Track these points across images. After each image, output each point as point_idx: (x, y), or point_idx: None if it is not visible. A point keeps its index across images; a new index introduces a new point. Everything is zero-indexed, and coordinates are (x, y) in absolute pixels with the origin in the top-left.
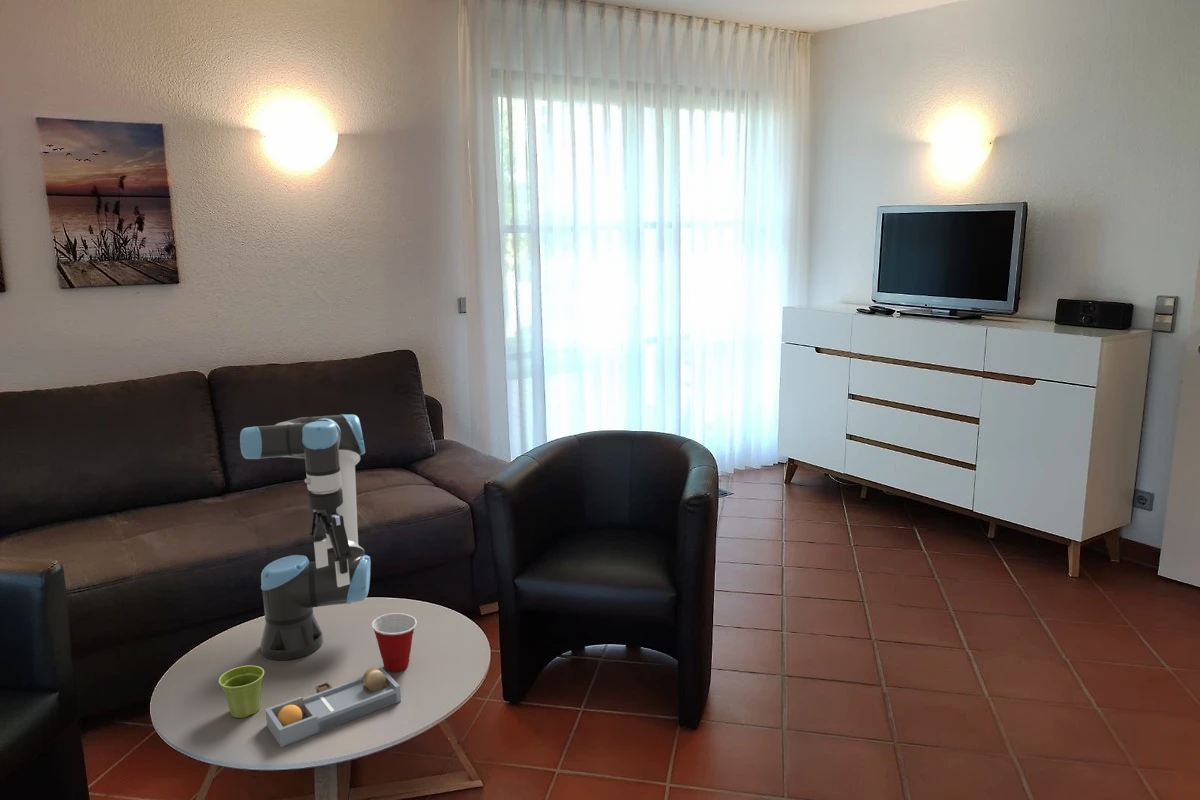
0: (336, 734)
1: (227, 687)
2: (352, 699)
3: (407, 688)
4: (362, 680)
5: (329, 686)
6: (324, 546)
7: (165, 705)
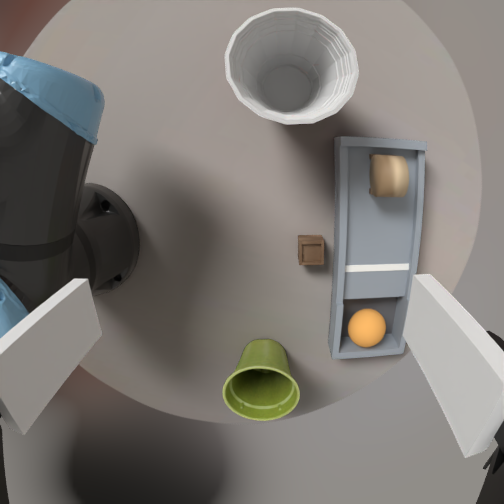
0: (424, 267)
1: (284, 415)
2: (389, 224)
3: (381, 110)
4: (375, 196)
5: (316, 243)
6: (18, 356)
7: (184, 413)
